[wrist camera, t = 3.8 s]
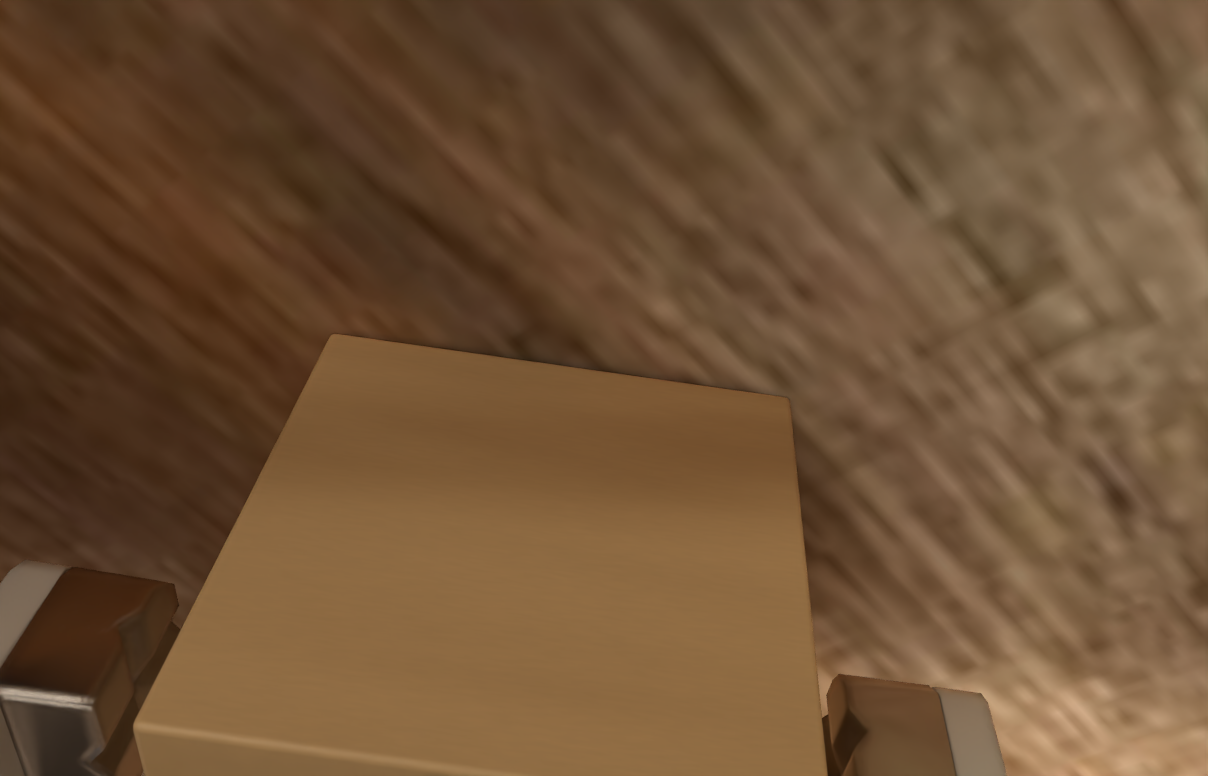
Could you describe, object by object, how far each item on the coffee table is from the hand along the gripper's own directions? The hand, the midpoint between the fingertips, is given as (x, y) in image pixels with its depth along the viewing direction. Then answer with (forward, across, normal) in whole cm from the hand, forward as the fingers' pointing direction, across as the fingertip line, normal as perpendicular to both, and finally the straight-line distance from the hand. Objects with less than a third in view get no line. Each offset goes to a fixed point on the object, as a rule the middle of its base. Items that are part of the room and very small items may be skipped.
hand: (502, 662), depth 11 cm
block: (+2, 0, 0) cm, 2 cm away
